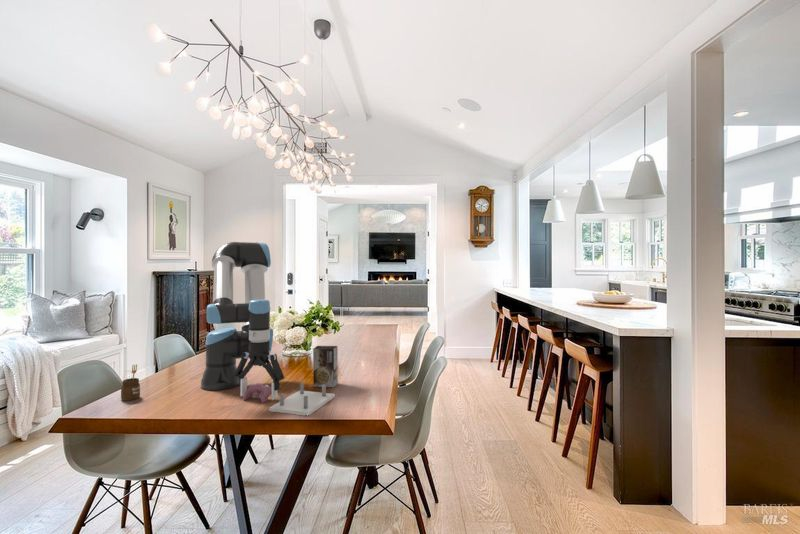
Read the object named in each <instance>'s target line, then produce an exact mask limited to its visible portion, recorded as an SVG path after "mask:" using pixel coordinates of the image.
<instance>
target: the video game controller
mask: <svg viewBox="0 0 800 534" xmlns="http://www.w3.org/2000/svg"><path fill="white" fill-rule="evenodd" d="M259 392H260V393H259ZM270 395H272V386H270V385H268V384H266V383H263V382H255V383H251V385H249V386H247V390H246V392H245V393H244V395H243V396H242V399H243V401H246V400H247V399H249V398H250V396H251V397H252V399H255V398H256V399H258V398H259V399H260V400H261V403H262V404H263V403H265V402H266V401H267V400H268V398H269V397H270Z"/></svg>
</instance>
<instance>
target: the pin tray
mask: <svg viewBox="0 0 800 534" xmlns="http://www.w3.org/2000/svg"><path fill="white" fill-rule="evenodd" d="M304 384H305V382H300V383H299V390H298V391H296V392H294V393H292V394H291V395H289V396H287V397H285V393H283V392H281V393H279V402H277V403H274V404H273V405H271V406H270V407H269V409H268V410H269V412H273V413H275V412H276V413H280V414H281V413H283V414H291V415H299V416H305V415H307V417H308V415H309V416H310V415H311V414H313V413H314V412H316V411H317V410H318V409H320V408H321V407H323V406H324V405H326V404H327V403H329V402H330V401H331V400H332V399H334V398H335V393H330V392H329V393H328V392H327V387H326V385H322V387H321V392H319V391H310V390H305V389H304V388H305V385H304Z"/></svg>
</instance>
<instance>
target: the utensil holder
mask: <svg viewBox="0 0 800 534" xmlns="http://www.w3.org/2000/svg"><path fill="white" fill-rule="evenodd" d="M131 368H132V369H131V372H130V370H126V371H124V374H123V375H124V377H125V378H124V379H123V380H122V382H121V384H122V386H121V388H120V399H121V401H124V402H126V401H134V400H137V399H140V396H141V385H140V384H141V383H140V379H139V378H138V377H135V374H137V371H138V364H132V366H131ZM127 373H128V375H129V378H128V375H127ZM130 373H131V376H130ZM125 374H126V375H125Z"/></svg>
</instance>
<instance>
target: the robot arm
mask: <svg viewBox="0 0 800 534" xmlns="http://www.w3.org/2000/svg"><path fill="white" fill-rule="evenodd" d="M271 261H272V260H271V252H270V248H269V246H268V245H267V243H264V242H258V241H256V242H246V241H245V242H244V241H243V242H240V241H231V242H227V243H225V244H223V245H222V246H220V247H219V248H218V249H216V251H215V253H214V254H213V256H212V259H211V267H212V269H213V288H212V290H213V291H212V303H209V304H207V306H206V323H208V324H214V325H215V324H217V325H220V324H221V325H222V324H236V323H237V324H238V323H243V325H242V326H241V330H237V328H236V327H225V328H224V327H223V328H220V329H214V330H212V331H210V332H207V334H206V336H205V343H204V344H205V367H204V368H205V369H204V372H203V374H202V379H200V380H201V381H200V388H201V389H203V390H205V391H207V390H208V391H218V390H221V391H222V390H227V389H231V388H235V387H237V386H239V388H240V397H243V395H244V393H245V392H246V390H247V389H248V377H246V375H247V374H248V373H249V372H250V371H251V370H252V368H253V367H255V366H258V367H262V368H264V369H265V371H266V372H267V374H268V375H269V377H270V378H271V379H272V381H271V388H272V392H271V400H272V401H274V400H277V399H278V391H279V389H280V381H282V380H284V379H285V376H284V373H283V371H282V368H281V366H280V363H279V361H278V355H277V354H276V353H272V354H271V351H272V349H273V348H272V347H273V341H274V330H273V328H271V327H270V324H271V323H270V322H271V321H270V319H271V302H270V300H269V299H266V291H265V290H266V286H265V285H266V283H265V282H266V281H265V273H267V272H268V268H270V267H271V265H272V264H271V263H272V262H271ZM235 268H240V270H241V272H242V273H243V274H244V302H243V303H234V269H235ZM237 359H240V361H239V363H238V365H237ZM248 359H249V361H248ZM247 361H248V362H247Z"/></svg>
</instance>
